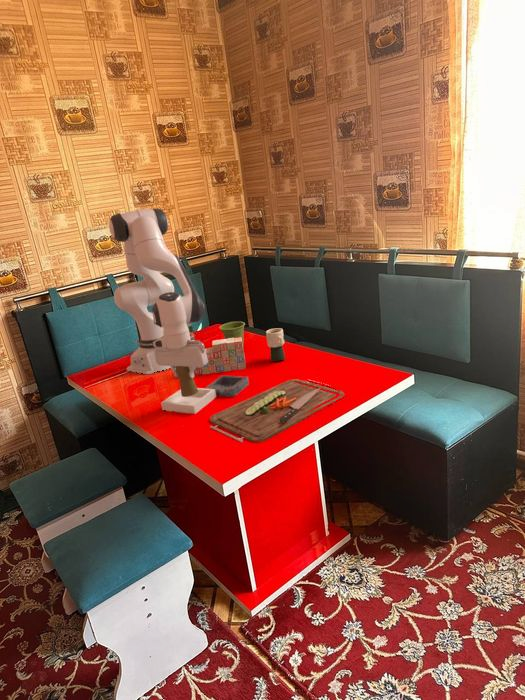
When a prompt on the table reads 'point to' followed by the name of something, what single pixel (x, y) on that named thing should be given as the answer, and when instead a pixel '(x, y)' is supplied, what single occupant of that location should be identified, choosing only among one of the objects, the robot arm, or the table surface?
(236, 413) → the chopping board
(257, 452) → the table surface
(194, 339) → the canned tomato
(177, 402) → the tray
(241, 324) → the plant pot
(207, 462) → the table surface
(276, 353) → the character mug
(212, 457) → the table surface
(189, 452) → the table surface
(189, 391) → the cork
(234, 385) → the grey square shallow box
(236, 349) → the stack of blocks
